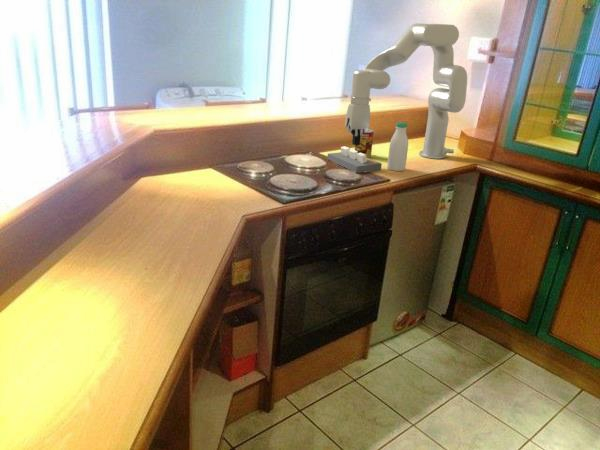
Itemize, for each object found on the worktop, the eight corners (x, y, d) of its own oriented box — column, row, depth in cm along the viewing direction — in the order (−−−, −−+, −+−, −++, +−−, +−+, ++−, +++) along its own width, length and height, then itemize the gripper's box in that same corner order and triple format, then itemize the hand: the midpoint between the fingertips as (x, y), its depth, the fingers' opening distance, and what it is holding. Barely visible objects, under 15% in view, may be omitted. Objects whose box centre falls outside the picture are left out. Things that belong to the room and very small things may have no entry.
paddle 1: (345, 152, 219) (344, 146, 217) (350, 154, 216) (349, 148, 214) (341, 154, 218) (340, 147, 216) (346, 156, 215) (345, 149, 213)
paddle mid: (353, 155, 214) (352, 149, 212) (358, 158, 211) (357, 151, 209) (349, 157, 213) (348, 150, 212) (354, 159, 210) (353, 152, 209)
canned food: (350, 155, 229) (353, 129, 225) (360, 152, 235) (363, 127, 230) (364, 158, 224) (367, 132, 220) (374, 156, 230) (377, 130, 225)
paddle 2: (361, 159, 209) (360, 152, 208) (366, 161, 206) (366, 154, 205) (357, 160, 209) (356, 153, 207) (363, 163, 205) (362, 156, 204)
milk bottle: (404, 172, 206) (411, 125, 199) (386, 170, 208) (392, 123, 200) (405, 167, 213) (411, 121, 206) (387, 166, 215) (392, 120, 207)
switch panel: (350, 157, 225) (351, 150, 224) (380, 170, 208) (381, 163, 207) (327, 160, 219) (327, 153, 218) (356, 173, 202) (356, 165, 200)
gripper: (368, 99, 210) (364, 141, 217) (340, 100, 202) (336, 144, 210) (379, 102, 204) (375, 145, 211) (350, 103, 197) (346, 148, 204)
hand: (355, 144), depth 210 cm, fingers closed
